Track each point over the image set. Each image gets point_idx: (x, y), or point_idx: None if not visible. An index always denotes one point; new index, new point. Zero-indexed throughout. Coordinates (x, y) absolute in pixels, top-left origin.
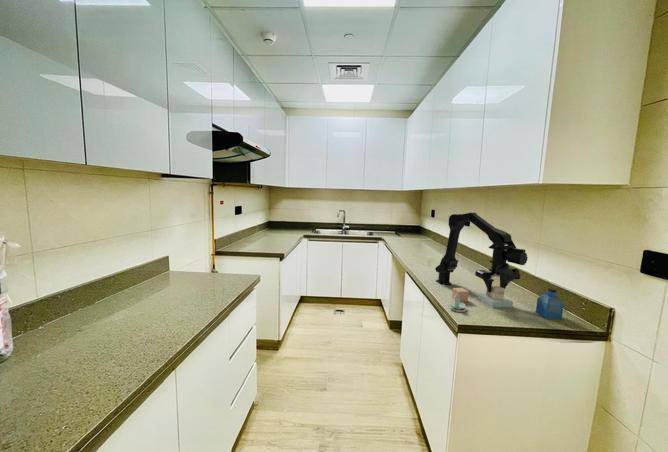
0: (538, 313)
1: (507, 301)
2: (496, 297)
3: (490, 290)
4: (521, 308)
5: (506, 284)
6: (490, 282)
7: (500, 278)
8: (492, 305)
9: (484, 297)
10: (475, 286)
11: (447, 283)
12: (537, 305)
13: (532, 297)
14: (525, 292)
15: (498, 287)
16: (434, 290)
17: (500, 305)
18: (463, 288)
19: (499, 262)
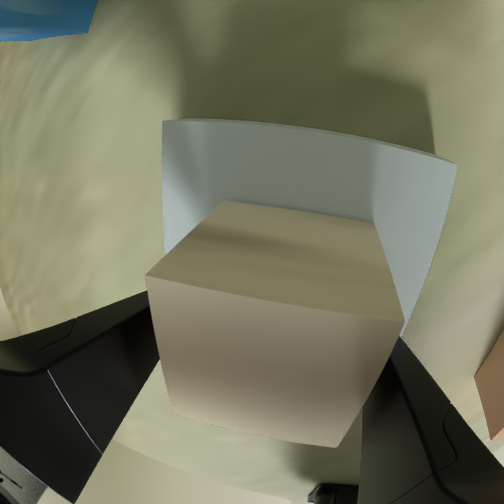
0: (94, 3)
1: (224, 135)
2: (334, 227)
3: (395, 344)
4: (134, 86)
5: (53, 338)
6: (482, 478)
7: (81, 473)
8: (436, 155)
9: (414, 304)
10: (204, 444)
11: (349, 489)
12: (46, 16)
13: (6, 256)
14: (15, 308)
15: (222, 358)
16: (489, 445)
17: (336, 132)
18: (500, 430)
19: None
